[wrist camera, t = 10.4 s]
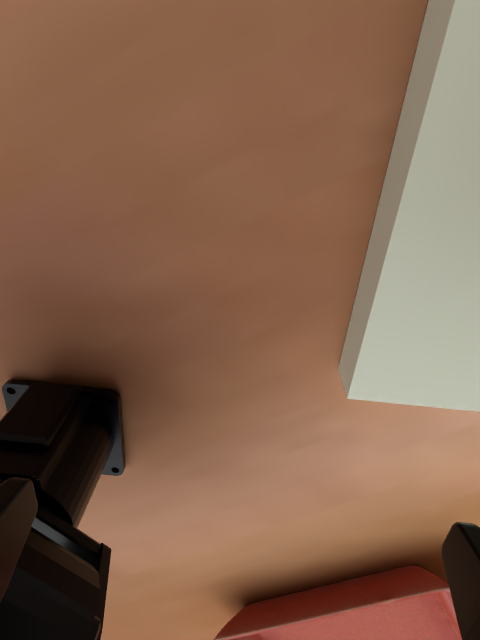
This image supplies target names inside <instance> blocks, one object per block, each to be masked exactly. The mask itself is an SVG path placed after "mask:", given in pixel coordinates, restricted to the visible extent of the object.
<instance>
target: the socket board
mask: <svg viewBox="0 0 480 640" xmlns="http://www.w3.org/2000/svg"><path fill="white" fill-rule="evenodd" d="M338 370H339V373H340V376H341V380H342V383H343V386H344V390H345V393H346V396H347V399H357V400H367V401H377V402H387V403H397V404H407V405H417V406H427V407H437V408H447V409H457V410H467V411H477V412H480V0H429V1H428V5H427V9H426V13H425V17H424V21H423V25H422V29H421V33H420V38H419V42H418V46H417V50H416V54H415V58H414V62H413V66H412V70H411V74H410V78H409V82H408V86H407V90H406V94H405V99H404V103H403V107H402V111H401V115H400V119H399V123H398V127H397V131H396V135H395V139H394V143H393V147H392V151H391V155H390V160H389V164H388V168H387V172H386V176H385V180H384V184H383V188H382V192H381V196H380V200H379V204H378V208H377V212H376V216H375V221H374V225H373V229H372V233H371V237H370V241H369V245H368V249H367V253H366V257H365V261H364V265H363V269H362V273H361V277H360V282H359V286H358V290H357V294H356V298H355V302H354V306H353V310H352V314H351V318H350V322H349V326H348V330H347V334H346V338H345V343H344V347H343V351H342V355H341V359H340V363H339V367H338Z"/></svg>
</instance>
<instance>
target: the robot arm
mask: <svg viewBox="0 0 480 640" xmlns="http://www.w3.org/2000/svg"><path fill="white" fill-rule="evenodd" d="M12 388H13V389H12ZM14 389H15V390H14ZM2 391H3V395H4V399H5V403H6V407H7V411H8V412H7V413H6V414H5V416H4V417H3V418H2V419H1V420H0V640H100V638H101V633H102V627H103V618H104V609H105V600H106V591H107V583H108V574H109V565H110V556H111V548H109V547H108V546H106V545H105V544H103V543H101V544H100V543H98V542H97V541H95V540H94V539H92V538H91V537H89V536H88V535H86V534H85V533H83V532H82V531H80V530H79V529H77V527H78V525H79V523H80V521H81V518H82V516H83V514H84V512H85V509H86V507H87V505H88V503H89V500H90V498H91V496H92V494H93V491H94V489H95V487H96V485H97V482H98V480H99V478H100V476H101V474H104V475H114V476H119V475H121V474H122V473H123V471H124V469H125V455H124V441H123V426H122V412H121V398H120V394H119V393H118V392H117V391H115V390H112V389H105V388H95V387H85V386H75V385H65V384H55V383H45V382H35V381H25V380H15V379H12V380H8V381H7V382H6V383H5V384H4V385H3V387H2ZM108 397H110V398H112V399H113V400H111V399H109V398H108ZM442 559H443V563H444V567H445V572H446V576H447V580H448V584H449V589H450V593H451V597H452V601H453V605H454V610H455V614H456V618H457V622H458V626H459V630H460V634H461V638H462V640H480V527H478V526H477V525H475V524H472V523H462V522H456V523H454V524H453V525H452V527H451V529H450V531H449V533H448V535H447V537H446V539H445V540H444V542H443V545H442Z"/></svg>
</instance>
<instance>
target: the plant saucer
mask: <svg viewBox="0 0 480 640" xmlns="http://www.w3.org/2000/svg"><path fill="white" fill-rule="evenodd" d="M214 640H462V638H461V634H460V630H459V626H458V622H457V618H456V614H455V610H454V605H453V601H452V597H451V593H450V589H449V584H448V583H446V582H445V581H444V580H442V579H441V578H439V577H438V576H436V575H435V574H433V573H431V572H429V571H427V570H425V569H423V568H421V567H419V566H416V565H410V566H404V567H400V568H396V569H392V570H388V571H384V572H380V573H376V574H372V575H368V576H364V577H360V578H355V579H351V580H347V581H343V582H339V583H335V584H330V585H326V586H322V587H318V588H314V589H310V590H306V591H302V592H298V593H294V594H289V595H285V596H281V597H277V598H272V599H268V600H264V601H260V602H256V603H252V604H248V605H247V606H245V607H244V608H243V609H242V610H241V611H240V612H239V613H237V614H236V615H235V616H234V617H233V618H232V619H231V620H230V621H229V622H228V623H227V624H226V625H225V626H224V627H223V628H222V630H221V631H220V632H219V633H218V635H217V636H216V637H215V639H214Z"/></svg>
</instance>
